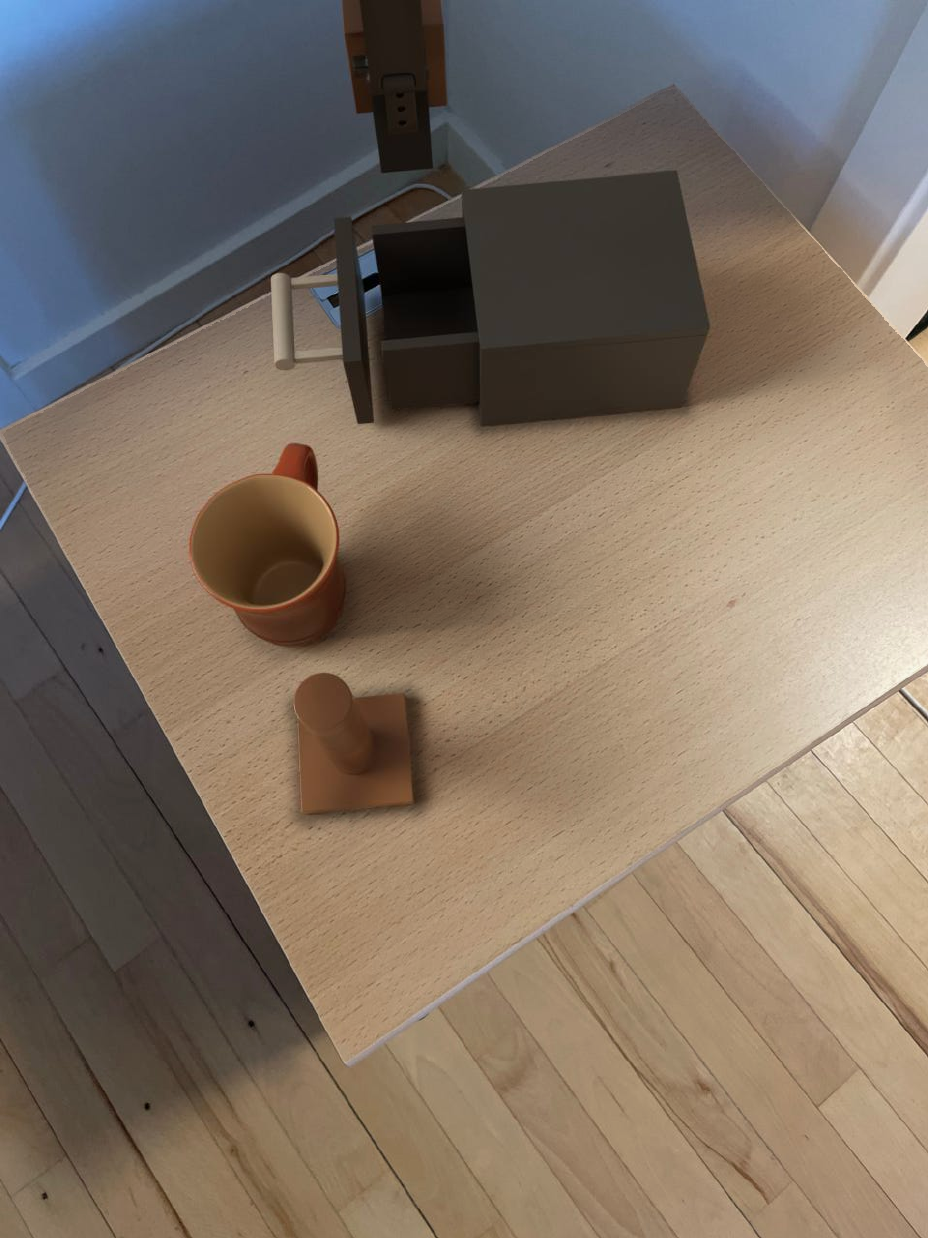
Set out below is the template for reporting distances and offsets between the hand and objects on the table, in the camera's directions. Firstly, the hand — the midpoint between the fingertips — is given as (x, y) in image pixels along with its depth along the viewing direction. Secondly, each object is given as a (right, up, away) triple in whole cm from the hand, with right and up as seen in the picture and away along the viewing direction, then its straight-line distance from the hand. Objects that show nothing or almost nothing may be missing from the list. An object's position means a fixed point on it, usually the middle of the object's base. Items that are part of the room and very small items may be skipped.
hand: (402, 125), depth 52 cm
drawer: (-1, -6, +20) cm, 21 cm away
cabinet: (+11, -6, +21) cm, 25 cm away
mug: (-8, -23, +16) cm, 29 cm away
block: (0, +1, -3) cm, 3 cm away
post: (-4, -35, +11) cm, 37 cm away
